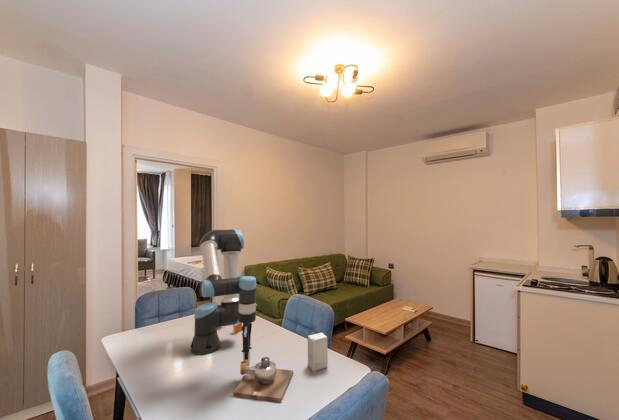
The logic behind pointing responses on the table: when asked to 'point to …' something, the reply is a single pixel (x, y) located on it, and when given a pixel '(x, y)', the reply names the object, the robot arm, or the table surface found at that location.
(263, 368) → the silver round pot
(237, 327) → the whisky bottle
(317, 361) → the skincare box
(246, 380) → the brown wooden board
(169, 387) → the table surface
